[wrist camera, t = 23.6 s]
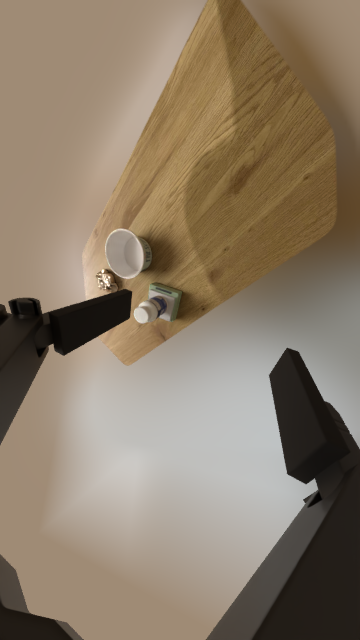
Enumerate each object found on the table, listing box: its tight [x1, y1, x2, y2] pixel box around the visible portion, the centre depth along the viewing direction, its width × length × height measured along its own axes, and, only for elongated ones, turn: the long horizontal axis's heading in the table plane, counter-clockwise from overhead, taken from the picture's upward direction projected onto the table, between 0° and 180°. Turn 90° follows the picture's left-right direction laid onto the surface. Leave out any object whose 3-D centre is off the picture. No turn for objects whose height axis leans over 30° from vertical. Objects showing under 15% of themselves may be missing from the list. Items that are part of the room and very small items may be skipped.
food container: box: [105, 229, 152, 279], centre depth 45 cm, size 12×12×7 cm
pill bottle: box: [134, 296, 168, 323], centre depth 42 cm, size 5×5×10 cm
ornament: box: [96, 269, 118, 293], centre depth 53 cm, size 8×7×4 cm
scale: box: [148, 283, 182, 322], centre depth 48 cm, size 9×9×4 cm
